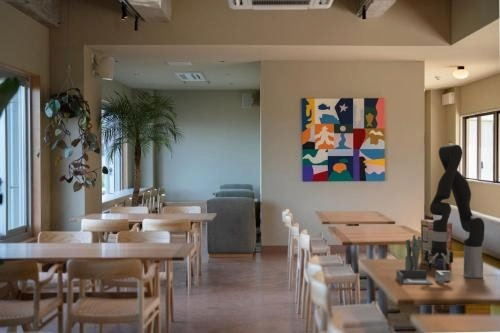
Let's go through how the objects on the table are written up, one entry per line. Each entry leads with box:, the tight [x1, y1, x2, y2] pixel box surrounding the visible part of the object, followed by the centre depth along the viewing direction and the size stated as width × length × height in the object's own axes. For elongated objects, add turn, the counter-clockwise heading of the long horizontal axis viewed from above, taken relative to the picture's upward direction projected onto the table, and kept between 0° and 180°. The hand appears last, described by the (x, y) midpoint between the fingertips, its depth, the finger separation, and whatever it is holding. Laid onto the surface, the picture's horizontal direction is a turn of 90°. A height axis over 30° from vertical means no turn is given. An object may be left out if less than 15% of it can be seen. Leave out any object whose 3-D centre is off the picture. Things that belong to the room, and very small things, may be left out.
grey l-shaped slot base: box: [395, 269, 433, 286], centre depth 288 cm, size 16×13×5 cm
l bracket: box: [435, 270, 451, 285], centre depth 287 cm, size 9×7×5 cm
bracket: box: [404, 234, 422, 270], centre depth 313 cm, size 28×7×20 cm, turn 152°
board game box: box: [420, 219, 453, 270], centre depth 326 cm, size 20×6×27 cm, turn 23°
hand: (438, 270), depth 287 cm, fingers open, 8 cm apart
